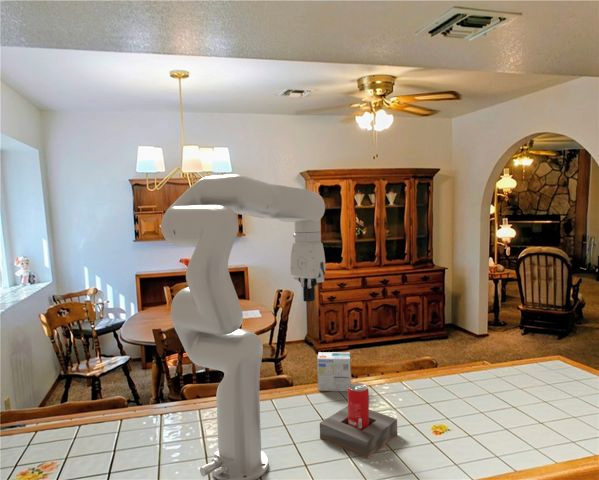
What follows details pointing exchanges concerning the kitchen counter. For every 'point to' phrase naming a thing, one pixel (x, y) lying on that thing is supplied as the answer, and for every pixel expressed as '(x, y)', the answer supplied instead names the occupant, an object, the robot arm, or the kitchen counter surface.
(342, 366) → the light bulb box
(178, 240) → the robot arm
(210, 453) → the kitchen counter surface
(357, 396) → the beverage can
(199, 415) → the kitchen counter surface
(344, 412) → the socket block
